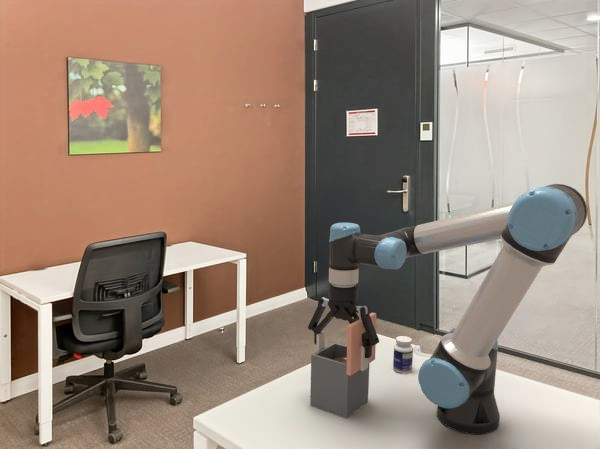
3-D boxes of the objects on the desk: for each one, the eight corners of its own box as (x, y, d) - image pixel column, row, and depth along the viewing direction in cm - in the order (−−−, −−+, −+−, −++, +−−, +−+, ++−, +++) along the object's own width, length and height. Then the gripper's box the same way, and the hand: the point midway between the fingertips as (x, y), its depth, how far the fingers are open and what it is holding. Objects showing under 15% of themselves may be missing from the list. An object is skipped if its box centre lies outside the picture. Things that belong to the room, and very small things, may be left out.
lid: (367, 357, 149) (375, 359, 148) (342, 373, 139) (350, 375, 138) (369, 311, 147) (376, 313, 146) (343, 324, 137) (351, 326, 136)
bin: (368, 401, 150) (369, 352, 148) (346, 418, 141) (348, 365, 139) (332, 390, 157) (334, 342, 154) (310, 405, 148) (311, 354, 145)
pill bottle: (389, 367, 172) (391, 336, 171) (406, 365, 174) (408, 334, 172) (398, 374, 167) (399, 343, 165) (415, 372, 169) (417, 341, 167)
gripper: (394, 288, 139) (391, 369, 143) (311, 273, 153) (310, 347, 157) (380, 295, 133) (377, 380, 137) (295, 278, 147) (294, 355, 151)
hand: (341, 362), depth 147 cm, fingers open, 13 cm apart
